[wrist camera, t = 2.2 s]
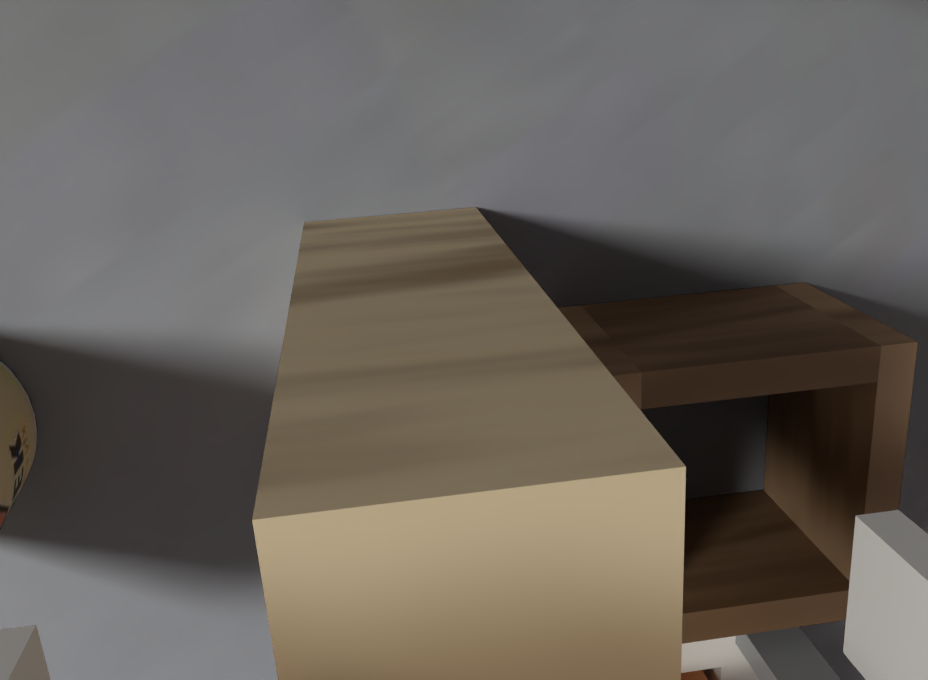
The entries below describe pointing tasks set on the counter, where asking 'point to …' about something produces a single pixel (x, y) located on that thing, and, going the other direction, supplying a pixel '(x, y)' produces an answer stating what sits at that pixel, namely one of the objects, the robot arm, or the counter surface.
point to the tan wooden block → (457, 474)
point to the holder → (771, 439)
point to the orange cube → (694, 675)
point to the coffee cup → (14, 439)
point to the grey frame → (758, 657)
